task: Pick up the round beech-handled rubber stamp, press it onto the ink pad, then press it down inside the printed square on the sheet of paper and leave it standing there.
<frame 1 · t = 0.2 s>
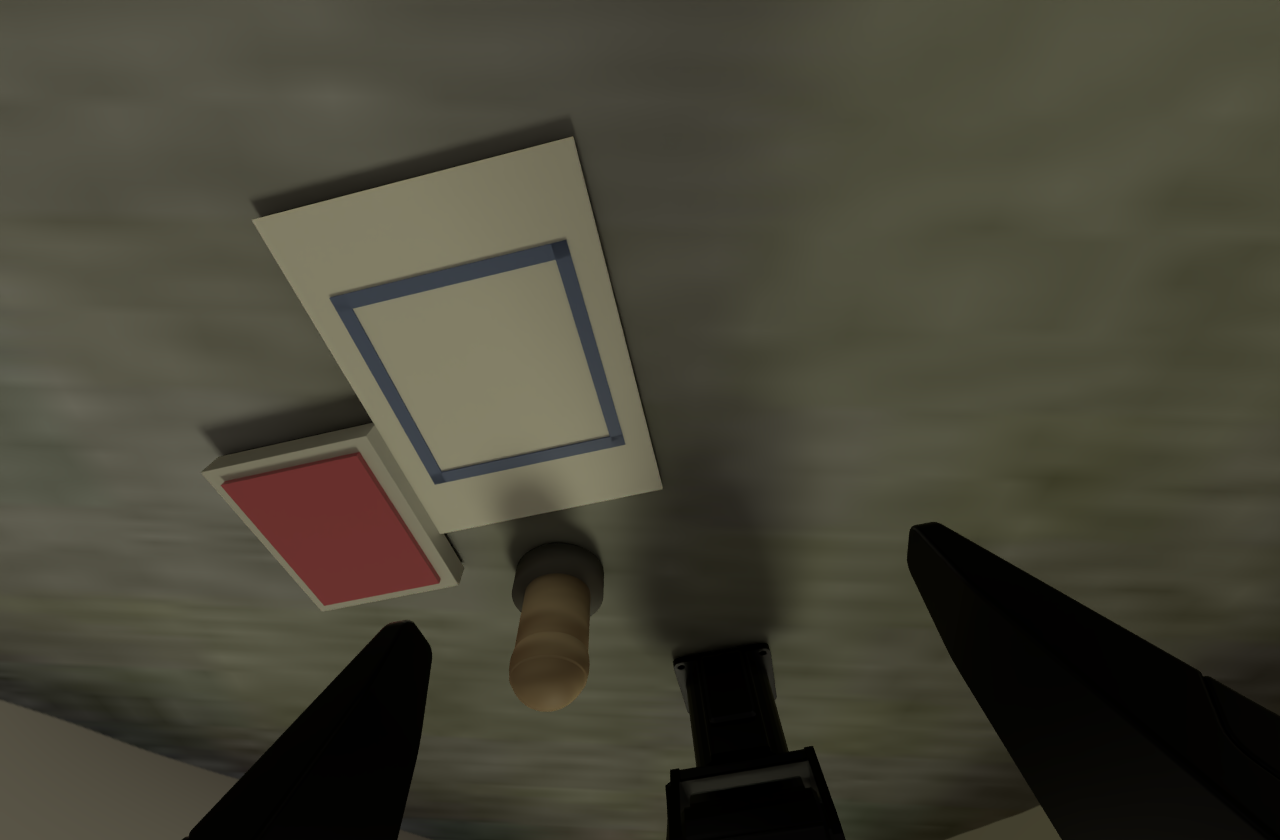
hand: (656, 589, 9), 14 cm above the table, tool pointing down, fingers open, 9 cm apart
stamp: (560, 574, 29), on the table
paper: (493, 374, 22), on the table
ink pad: (352, 517, 26), on the table
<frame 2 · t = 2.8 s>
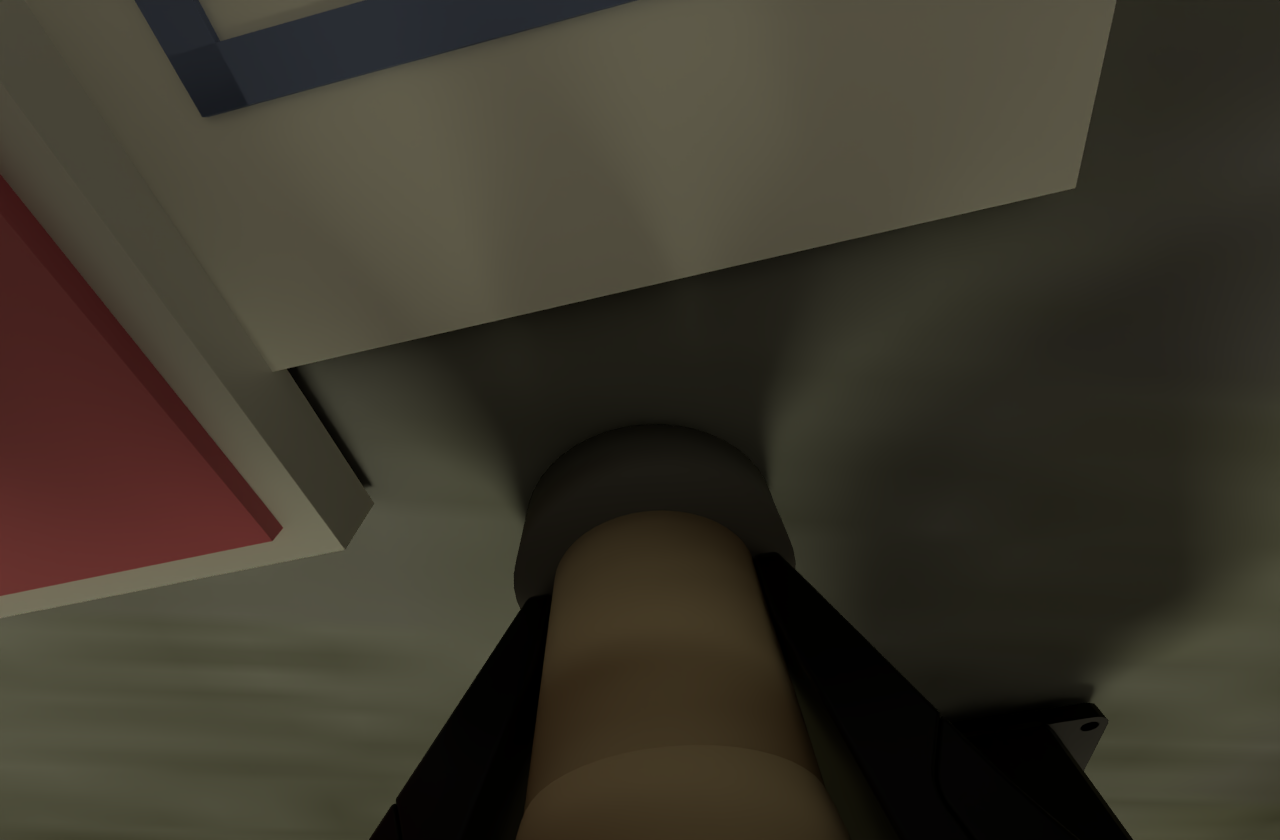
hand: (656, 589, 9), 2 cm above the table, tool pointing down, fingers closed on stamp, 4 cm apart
stamp: (650, 528, 10), on the table, touching gripper
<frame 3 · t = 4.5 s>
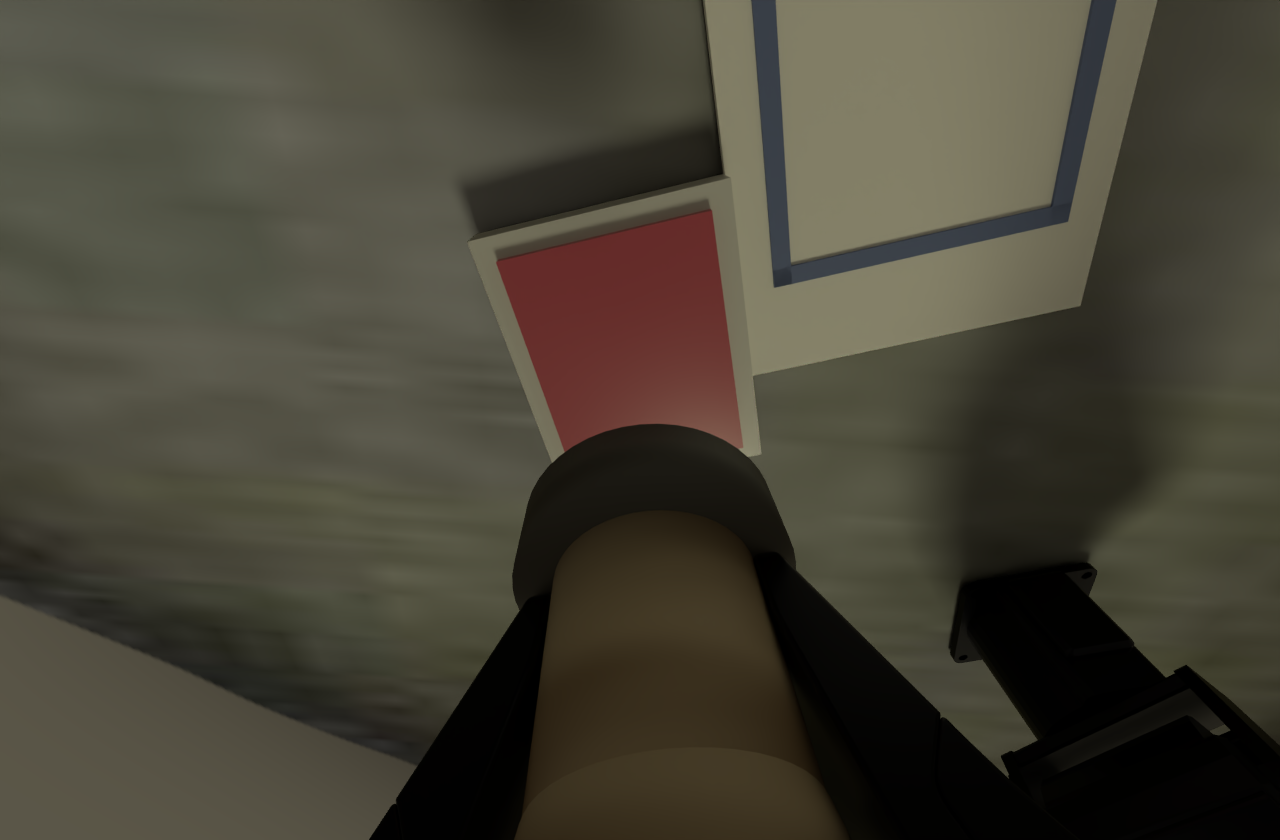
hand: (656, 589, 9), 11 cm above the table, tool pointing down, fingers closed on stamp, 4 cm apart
stamp: (650, 528, 10), point 9 cm above the table, touching gripper
paper: (923, 86, 14), on the table
ink pad: (632, 348, 18), on the table
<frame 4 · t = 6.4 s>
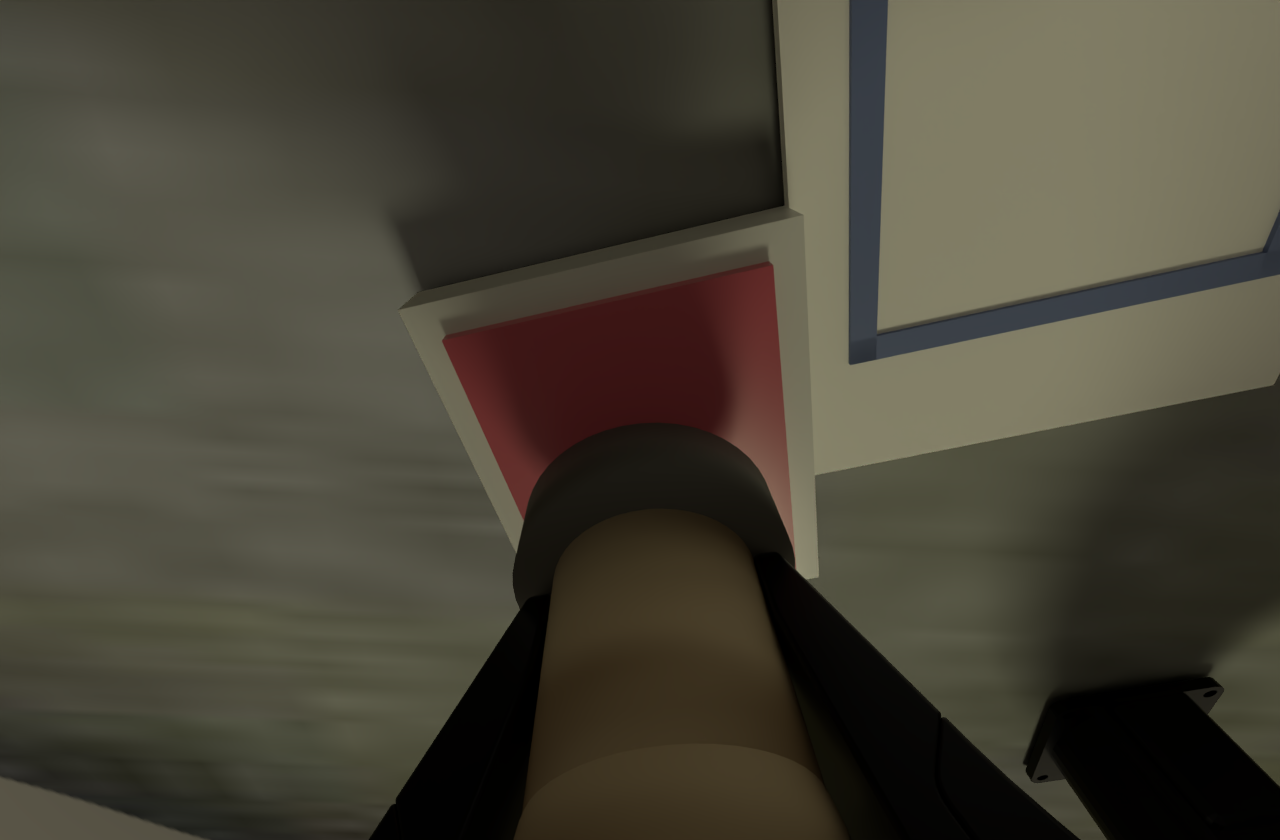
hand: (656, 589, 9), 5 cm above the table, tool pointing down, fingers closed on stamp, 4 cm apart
stamp: (650, 527, 10), point 3 cm above the table, touching gripper
paper: (1100, 73, 9), on the table
ink pad: (645, 441, 13), on the table
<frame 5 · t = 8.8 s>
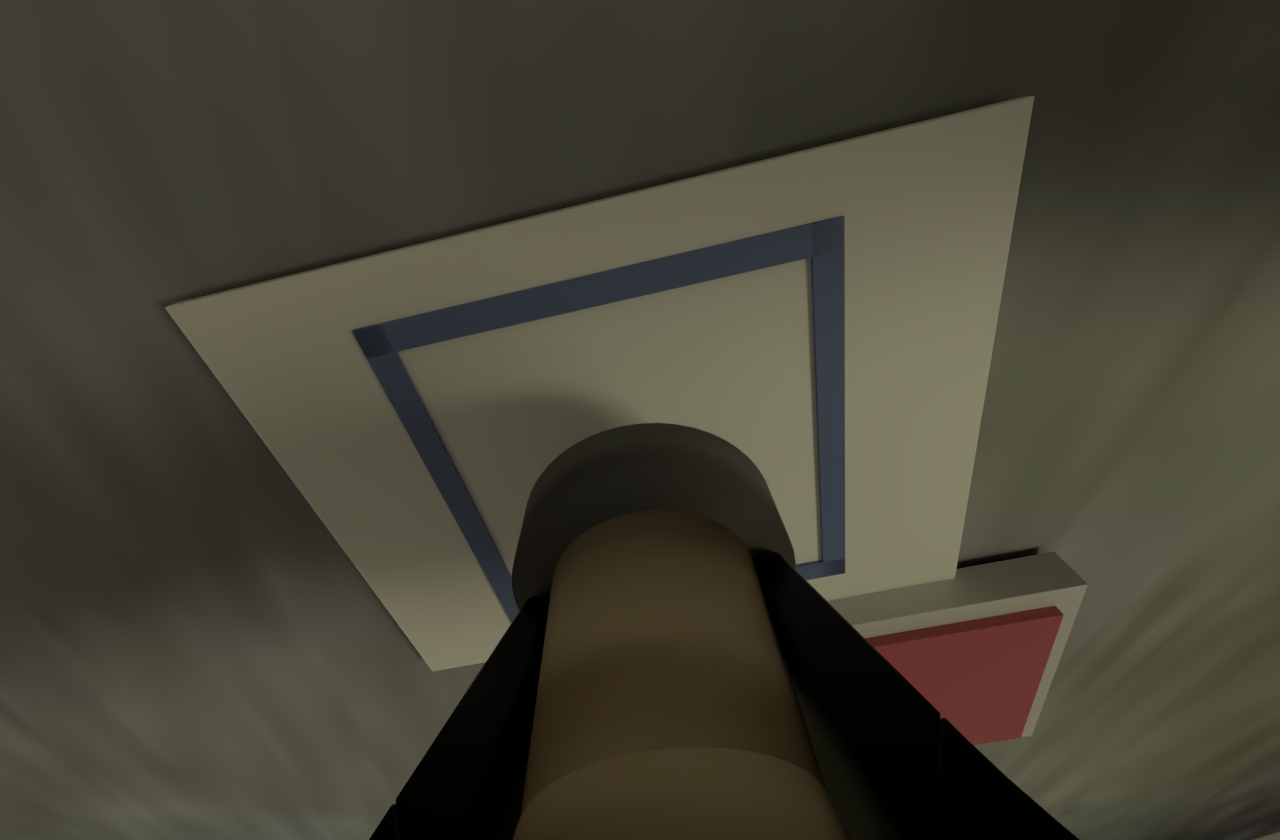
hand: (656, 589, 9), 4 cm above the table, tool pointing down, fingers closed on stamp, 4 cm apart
stamp: (649, 527, 10), point 2 cm above the table, touching gripper
paper: (641, 463, 12), on the table
ink pad: (876, 661, 17), on the table
when the fingers open (2 cm above the table, at t = 10.4 s): stamp stays where it is, resting on paper.
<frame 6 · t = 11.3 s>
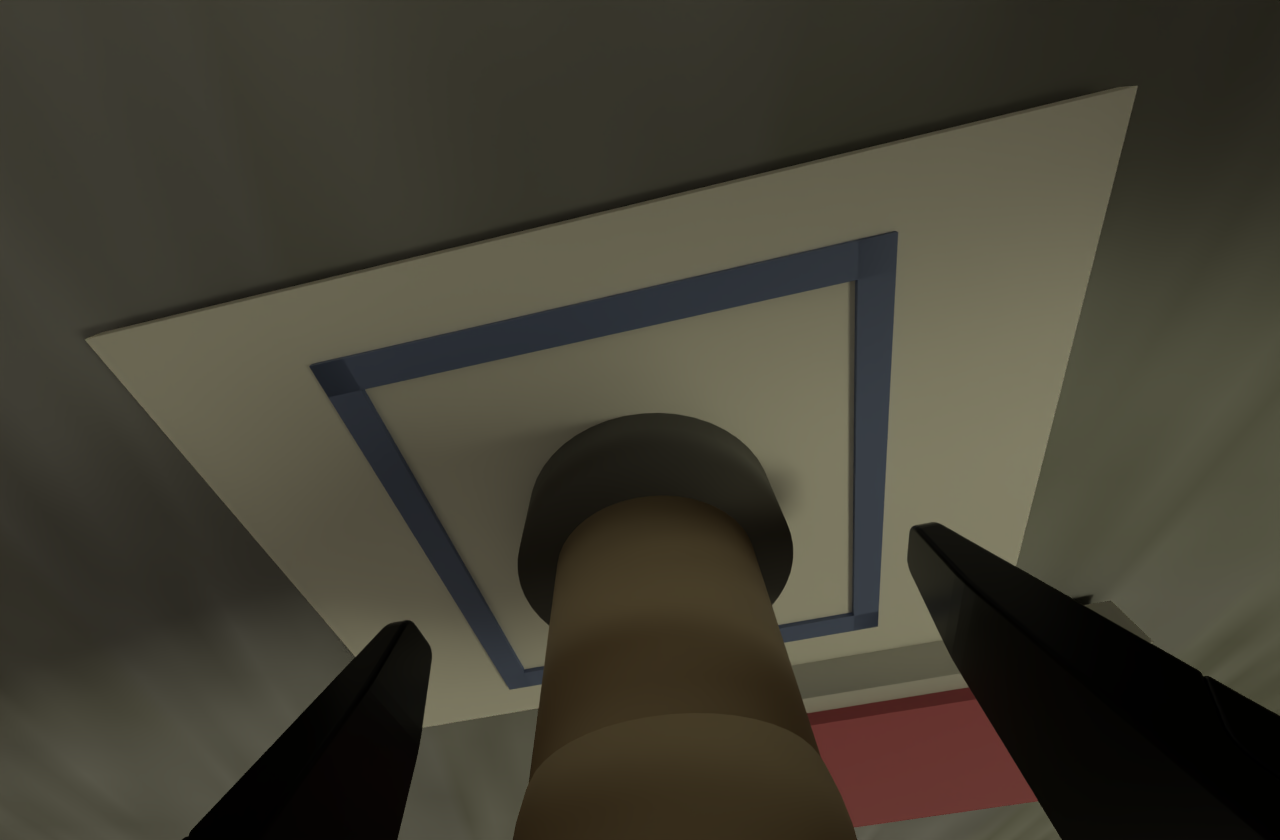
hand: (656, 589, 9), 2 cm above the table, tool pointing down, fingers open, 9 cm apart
stamp: (651, 516, 10), resting on paper
paper: (650, 510, 11), on the table
ink pad: (905, 713, 15), on the table
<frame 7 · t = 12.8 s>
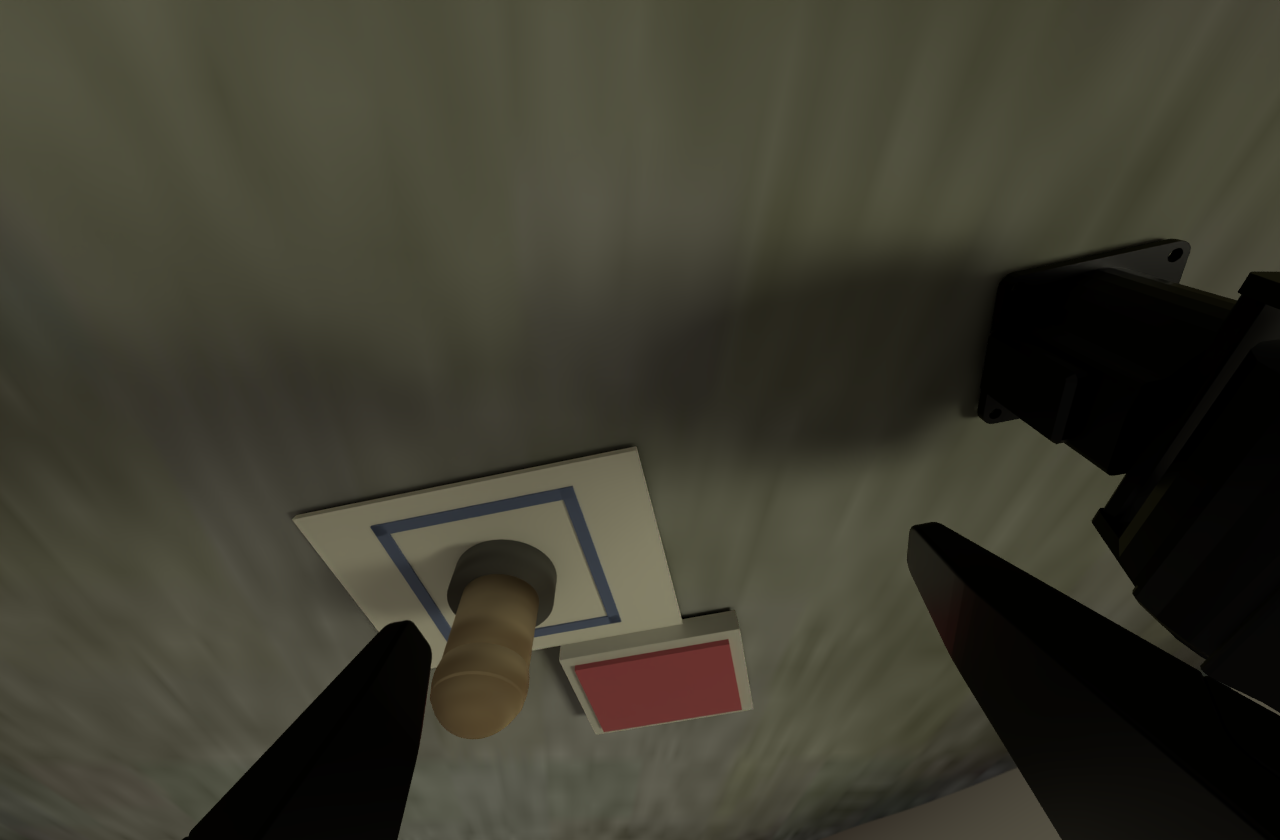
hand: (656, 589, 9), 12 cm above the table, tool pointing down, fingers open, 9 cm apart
stamp: (506, 575, 25), resting on paper
paper: (507, 572, 25), on the table
ink pad: (660, 666, 30), on the table
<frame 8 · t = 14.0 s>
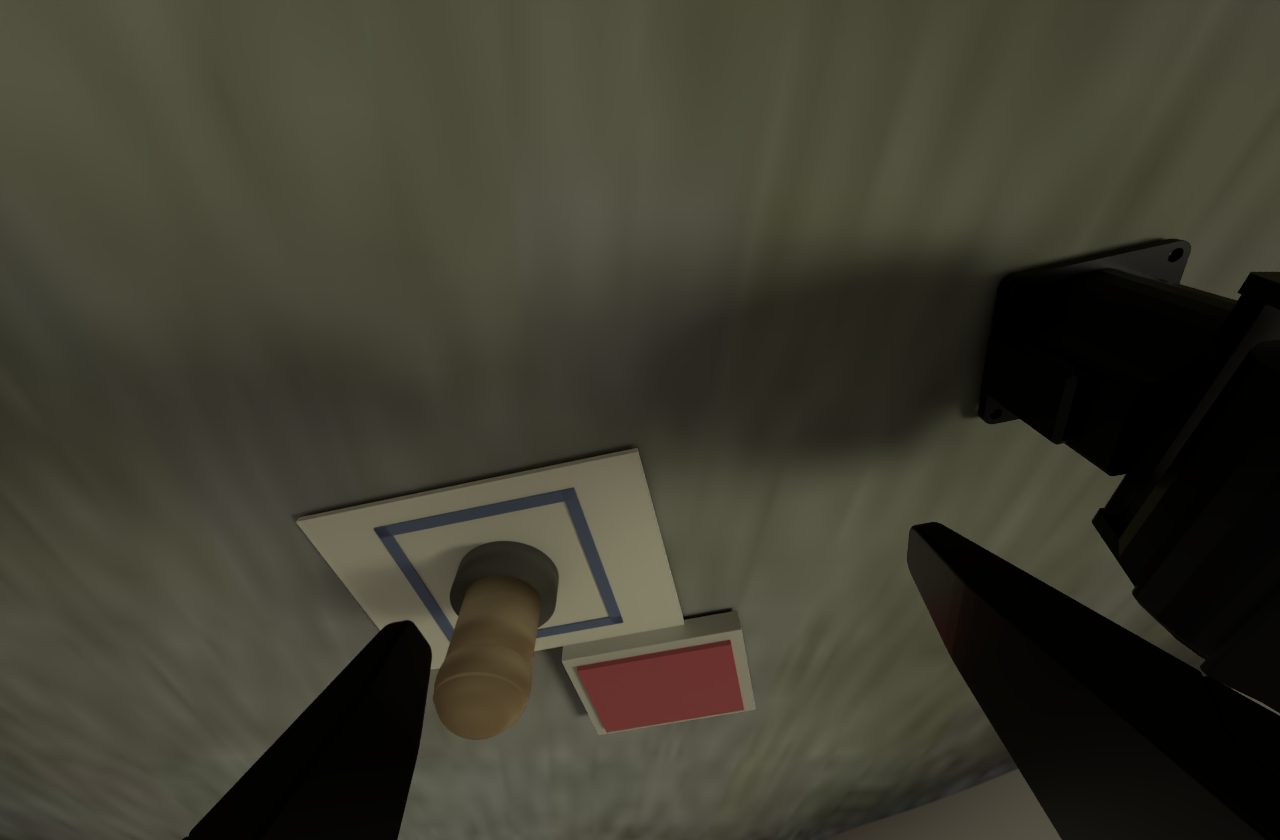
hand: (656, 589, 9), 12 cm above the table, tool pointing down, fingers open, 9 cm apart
stamp: (509, 577, 25), resting on paper
paper: (510, 573, 25), on the table
ink pad: (662, 667, 30), on the table
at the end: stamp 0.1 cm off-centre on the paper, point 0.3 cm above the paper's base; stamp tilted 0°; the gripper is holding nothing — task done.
